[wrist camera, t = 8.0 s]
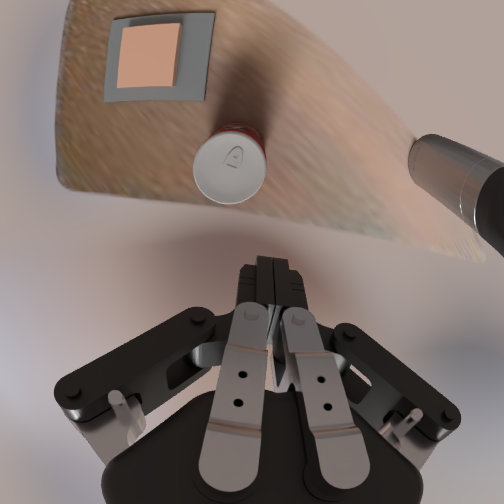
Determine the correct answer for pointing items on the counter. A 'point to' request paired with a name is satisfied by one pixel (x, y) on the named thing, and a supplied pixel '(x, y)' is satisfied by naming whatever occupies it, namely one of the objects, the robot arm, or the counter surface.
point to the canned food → (231, 164)
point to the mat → (189, 62)
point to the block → (149, 55)
